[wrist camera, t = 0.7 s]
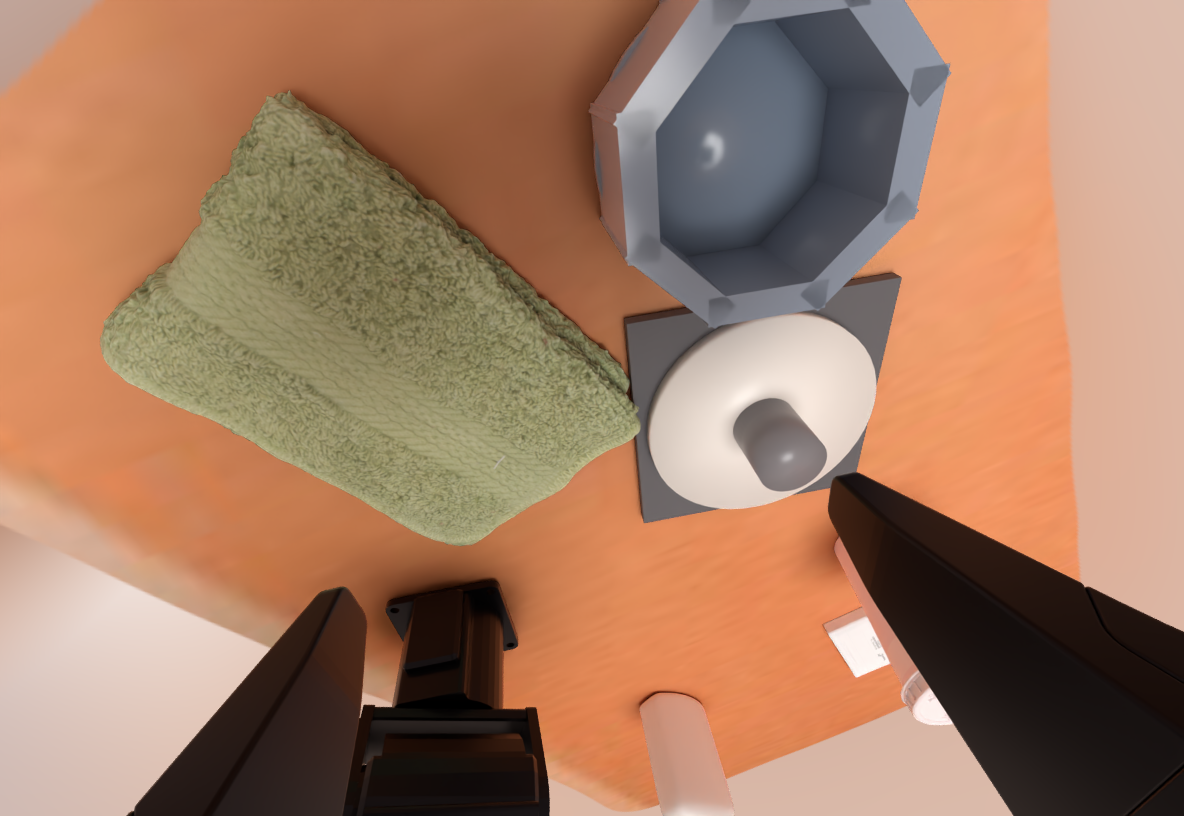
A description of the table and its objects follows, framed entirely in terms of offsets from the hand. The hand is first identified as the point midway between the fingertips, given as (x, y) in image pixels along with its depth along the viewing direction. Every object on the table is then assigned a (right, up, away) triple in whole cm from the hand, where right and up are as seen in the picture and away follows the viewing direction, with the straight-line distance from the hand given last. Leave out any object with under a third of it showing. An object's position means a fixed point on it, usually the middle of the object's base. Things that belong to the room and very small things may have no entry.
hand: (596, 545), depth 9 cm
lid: (+8, +2, +16) cm, 18 cm away
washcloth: (-8, +5, +13) cm, 16 cm away
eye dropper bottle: (+6, -21, +32) cm, 39 cm away
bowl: (+4, +12, +9) cm, 16 cm away
